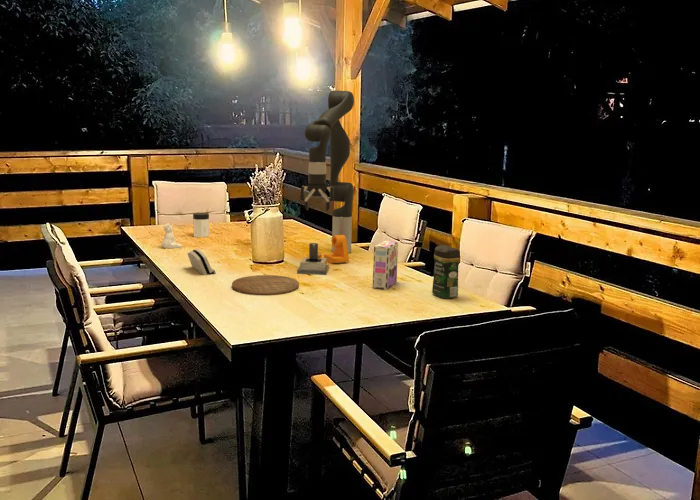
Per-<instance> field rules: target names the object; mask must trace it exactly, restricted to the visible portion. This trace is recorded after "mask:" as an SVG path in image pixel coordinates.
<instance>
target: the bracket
mask: <svg viewBox="0 0 700 500" xmlns="http://www.w3.org/2000/svg"><path fill="white" fill-rule="evenodd" d="M332 246H333V247H334V252H333V253H332V252H331V253H324V254H323V256H324V257H323V258H327V263H329V264H340V263H347V262H348V263H349V262H350V256H349V254H350V253H348V248H347V241H346V237H345V235H333V236H331V247H332Z"/></svg>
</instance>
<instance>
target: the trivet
mask: <svg viewBox="0 0 700 500" xmlns="http://www.w3.org/2000/svg"><path fill="white" fill-rule="evenodd" d="M299 286H300V282H299V281H298V280H297V279H295V278H292V277H289V276H285V275H273V274H263V275H261V274H260V275H257V274H256V275H249V276H243V277H239V278H236V279H235V280H232V283H231V288H232V290H233V291H235V292H237V293H241V294H245V295H250V296H251V295H253V296H279V295H285V294H289V293H292V292H295V291H297V290H298V289H299Z"/></svg>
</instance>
